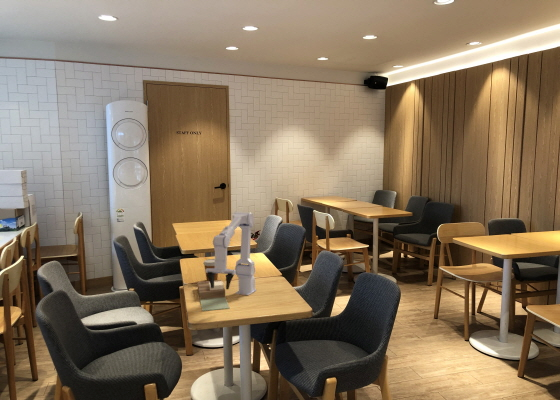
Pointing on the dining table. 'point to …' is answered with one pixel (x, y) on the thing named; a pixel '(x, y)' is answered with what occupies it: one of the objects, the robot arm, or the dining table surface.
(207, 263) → the disposable coffee cup
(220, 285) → the tile
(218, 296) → the deck
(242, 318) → the dining table surface
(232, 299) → the dining table surface
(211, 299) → the mat
